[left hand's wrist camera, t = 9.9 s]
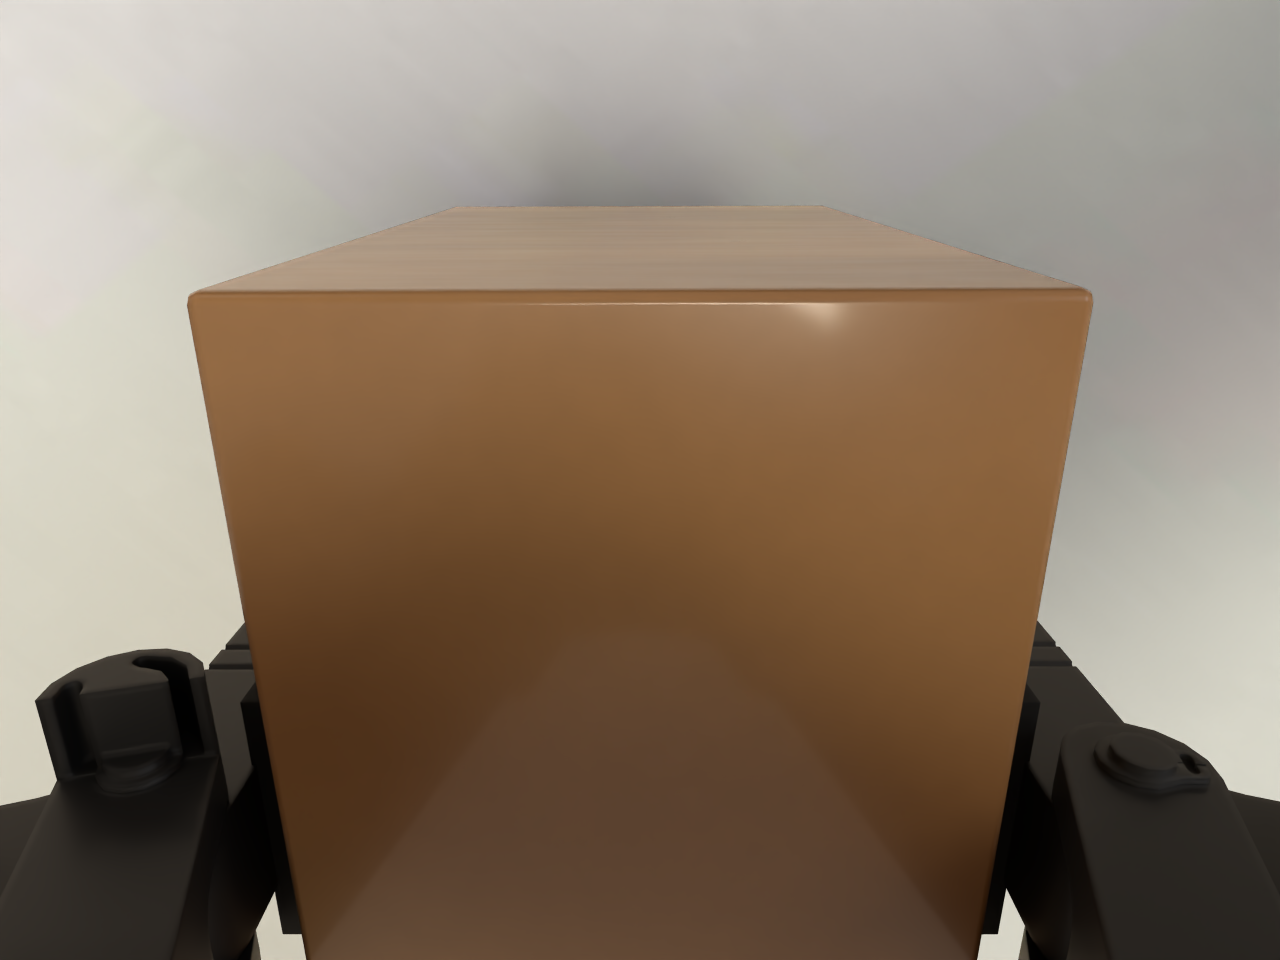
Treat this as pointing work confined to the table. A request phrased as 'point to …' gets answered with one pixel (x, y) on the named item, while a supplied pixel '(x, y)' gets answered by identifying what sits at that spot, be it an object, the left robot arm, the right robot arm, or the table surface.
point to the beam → (641, 576)
